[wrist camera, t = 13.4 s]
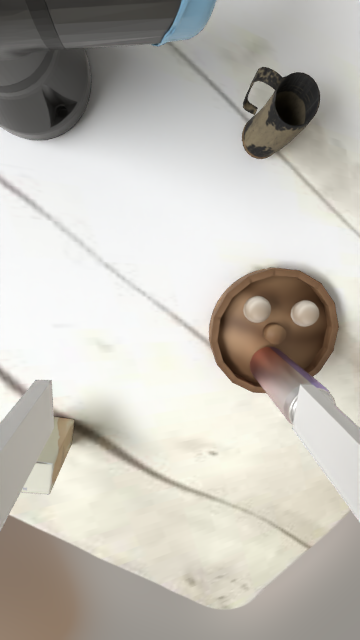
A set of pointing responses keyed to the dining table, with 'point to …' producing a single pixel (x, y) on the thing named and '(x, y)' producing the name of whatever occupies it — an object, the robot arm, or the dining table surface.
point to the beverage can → (282, 379)
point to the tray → (249, 334)
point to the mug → (279, 112)
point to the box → (51, 458)
